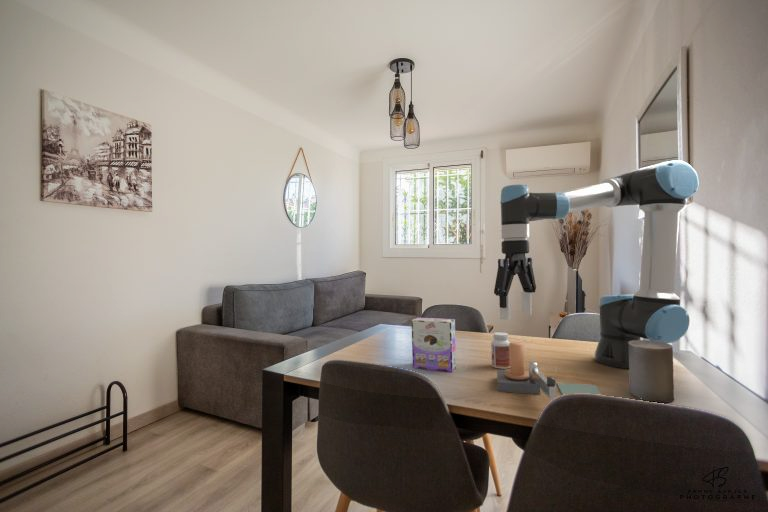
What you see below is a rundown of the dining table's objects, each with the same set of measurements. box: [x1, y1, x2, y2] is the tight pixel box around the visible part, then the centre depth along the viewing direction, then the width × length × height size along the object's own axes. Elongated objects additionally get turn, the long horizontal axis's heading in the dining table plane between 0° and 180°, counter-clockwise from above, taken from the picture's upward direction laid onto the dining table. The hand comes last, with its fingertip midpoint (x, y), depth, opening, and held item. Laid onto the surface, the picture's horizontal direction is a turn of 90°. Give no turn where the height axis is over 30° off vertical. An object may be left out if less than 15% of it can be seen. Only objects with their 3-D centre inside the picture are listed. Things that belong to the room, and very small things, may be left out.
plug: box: [505, 342, 529, 381], centre depth 109 cm, size 7×7×12 cm
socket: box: [496, 369, 541, 395], centre depth 109 cm, size 11×11×2 cm
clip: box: [528, 361, 557, 400], centre depth 97 cm, size 16×2×6 cm, turn 175°
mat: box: [556, 382, 602, 395], centre depth 104 cm, size 10×10×1 cm
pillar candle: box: [628, 339, 675, 403], centre depth 100 cm, size 10×10×15 cm
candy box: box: [410, 316, 457, 373], centre depth 127 cm, size 14×6×16 cm, turn 65°
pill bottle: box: [490, 331, 511, 370], centre depth 127 cm, size 6×6×11 cm
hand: (516, 316), depth 109 cm, fingers open, 10 cm apart
